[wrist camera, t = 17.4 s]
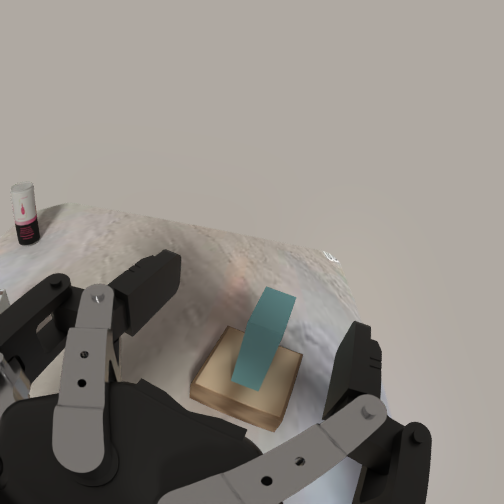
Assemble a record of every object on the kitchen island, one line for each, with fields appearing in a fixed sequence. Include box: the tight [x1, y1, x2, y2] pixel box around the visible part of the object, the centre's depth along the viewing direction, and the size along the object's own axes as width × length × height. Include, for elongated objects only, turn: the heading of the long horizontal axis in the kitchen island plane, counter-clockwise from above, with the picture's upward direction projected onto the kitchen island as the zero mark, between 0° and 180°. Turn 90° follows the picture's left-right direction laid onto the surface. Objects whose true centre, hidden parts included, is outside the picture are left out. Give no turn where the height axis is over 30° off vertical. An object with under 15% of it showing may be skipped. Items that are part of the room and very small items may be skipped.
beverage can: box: [11, 182, 40, 246], centre depth 53 cm, size 7×7×15 cm
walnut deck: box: [190, 326, 303, 432], centre depth 40 cm, size 13×13×4 cm
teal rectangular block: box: [231, 287, 296, 391], centre depth 35 cm, size 4×7×12 cm, turn 161°
